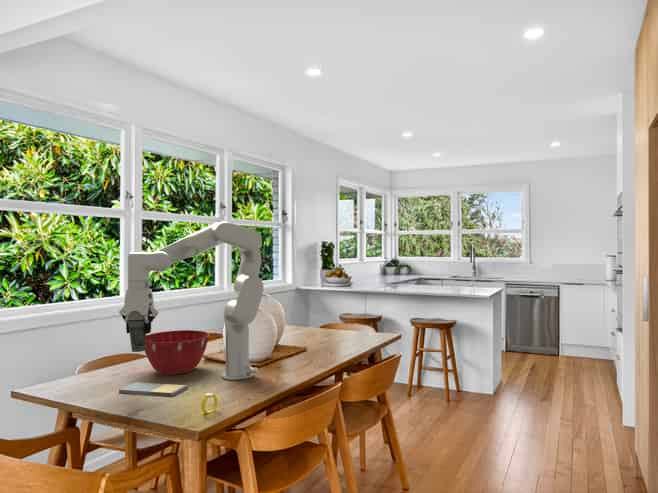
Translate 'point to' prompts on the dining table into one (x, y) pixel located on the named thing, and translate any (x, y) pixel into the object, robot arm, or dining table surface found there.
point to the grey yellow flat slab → (153, 389)
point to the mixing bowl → (175, 350)
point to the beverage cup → (136, 331)
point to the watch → (205, 402)
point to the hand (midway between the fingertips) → (138, 332)
